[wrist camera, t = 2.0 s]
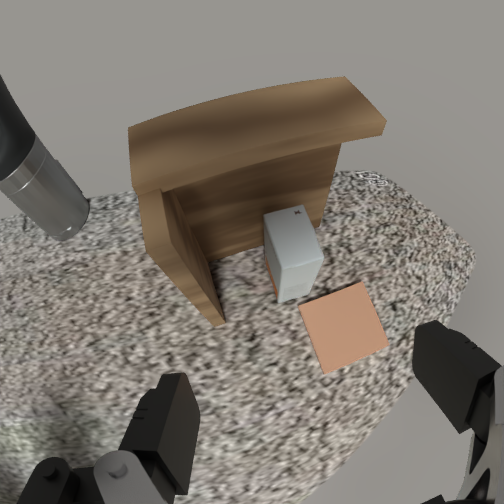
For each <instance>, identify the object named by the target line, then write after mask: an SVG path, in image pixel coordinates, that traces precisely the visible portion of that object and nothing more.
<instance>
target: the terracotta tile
mask: <svg viewBox="0 0 504 504" xmlns="http://www.w3.org/2000/svg"><path fill="white" fill-rule="evenodd" d="M298 309H299V311H300V314H301V316H302V319H303V321H304V324H305V327H306V329H307V332H308V334H309V337H310V340H311V342H312V345H313V347H314V350H315V353H316V355H317V358H318V361H319V363H320V366H321V369H322V371H323V374H327V373H329V372H332V371H334V370H336V369H339V368H341V367H343V366H346V365H348V364H350V363H352V362H355V361H357V360H359V359H361V358H363V357H366V356H368V355H370V354H372V353H374V352H376V351H378V350H380V349H382V348H384V347H386V346H388V345H389V342H388V340H387V337H386V335H385V332H384V330H383V328H382V325H381V323H380V320H379V318H378V316H377V313H376V311H375V309H374V306H373V304H372V302H371V299H370V297H369V295H368V293H367V290H366V288H365V286H364V284H363V282H360V283H357V284H355V285H352V286H350V287H347V288H344V289H342V290H339V291H337V292H334V293H332V294H329V295H326V296H324V297H321V298H318V299H316V300H313V301H310V302H308V303H305V304H302V305H299V306H298Z"/></svg>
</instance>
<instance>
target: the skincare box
mask: <svg viewBox="0 0 504 504" xmlns="http://www.w3.org/2000/svg"><path fill="white" fill-rule="evenodd" d="M263 221H264V245H265V263H266V266H267V269H268V272H269V275H270V278H271V281H272V284H273V287H274V291H275V294H276V298H277V301H278V303H280V302H284V301H287V300H290V299H294V298H298V297H301V296H305V295H308V294H309V292H310V290H311V288H312V285H313V283H314V281H315V279H316V276H317V274H318V271H319V269H320V267H321V265H322V262H323V260H324V255H323V252H322V249H321V247H320V244H319V242H318V239H317V236H316V233H315V230H314V228H313V226H312V224H311V222H310V219H309V217H308V214H307V212H306V210H305V207H304V205H298V206H294V207H291V208H287V209H283V210H279V211H275V212H271V213H268V214H264V215H263Z"/></svg>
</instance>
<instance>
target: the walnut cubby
mask: <svg viewBox="0 0 504 504" xmlns="http://www.w3.org/2000/svg"><path fill="white" fill-rule="evenodd" d="M386 122H387V120H386V119H385V118H384V117H383V116H382V115H381V113H380V112H379V111H378V110H377V109H376V108H375V107H374V106H373V105H372V104H371V103H370V101H368V99H367V98H366V97H365V96H364V95H363V94H362V93H361V92H360V91H359V90H358V89H357V88H356V87H355V86H354V85H353V84H352V83H351V82H350V81H349V80H348V79H347V78H346V77H335V78H325V79H317V80H309V81H302V82H295V83H290V84H283V85H277V86H272V87H267V88H262V89H257V90H252V91H247V92H243V93H238V94H234V95H230V96H226V97H222V98H218V99H214V100H210V101H207V102H204V103H200V104H196V105H193V106H189V107H186V108H183V109H180V110H176V111H173V112H170V113H167V114H164V115H161V116H158V117H156V118H153V119H150V120H147V121H144V122H142V123H139V124H136V125H134V126H131V127H129V128H128V138H129V155H130V168H131V179H132V187H133V189H134V190H135V192H136V194H137V195H138V201H139V208H140V216H141V223H142V230H143V236H144V242H145V249H146V252H147V253H148V254H149V255H150V257H151V258H152V259H153V260H154V261H155V262H156V264H157V265H158V266H159V267H160V268H161V269H162V271H163V272H164V273H165V274H166V275H167V276H168V277H169V278H170V280H171V281H172V282H173V283H174V284H175V285H176V286H177V287H178V289H179V290H180V291H181V292H182V293H183V294H184V295H185V296H186V297H187V298H188V299H189V301H190V302H191V303H192V304H193V305H194V306H195V307H196V308H197V309H198V310H199V311H200V312H201V313H202V314H203V315H204V317H205V318H206V319H207V320H208V321H209V322H210V323H211V324H212V325H213V326H214V327H215V326H218V325H221V324H225V323H226V322H225V319H224V316H223V312H222V309H221V306H220V303H219V299H218V296H217V293H216V290H215V286H214V283H213V280H212V276H211V273H210V269H209V266H208V262H211V261H214V260H217V259H221V258H224V257H227V256H230V255H233V254H236V253H239V252H242V251H245V250H248V249H251V248H255V247H258V246H261V245H264V221H263V215H264V214H268V213H271V212H275V211H279V210H283V209H287V208H291V207H294V206H298V205H304V207H305V210H306V212H307V214H308V217H309V219H310V222H311V224H312V226H313V228H317V227H319V226H320V222H321V219H322V215H323V212H324V208H325V205H326V201H327V197H328V194H329V190H330V186H331V182H332V179H333V175H334V171H335V167H336V163H337V159H338V155H339V151H340V147H341V143H343V142H348V141H353V140H358V139H363V138H369V137H374V136H380V135H382V133H383V130H384V127H385V124H386Z"/></svg>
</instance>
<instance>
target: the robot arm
mask: <svg viewBox="0 0 504 504" xmlns="http://www.w3.org/2000/svg"><path fill="white" fill-rule="evenodd" d="M0 190H1V191H2V192H3V193H4V194H5V195H6V196H7V197H8V198H9V199H10V200H11V201H12V202H13V203H14V204H15V205H16V206H17V207H18V208H19V209H20V210H22V211H23V212H24V213H25V214H26V215H27V216H28V217H29V218H30V219H31V220H32V221H34V222H35V223H36V224H37V225H38V226H39V227H40V228H41V229H43V230H44V231H45V232H46V233H47V234H48V235H50V236H51V237H52V238H53V239H55V240H58V241H63V240H67V239H69V238H71V237H72V236H74V235H75V234H76V233H77V232H78V231H79V230H80V229H81V227H82V226H83V225H84V223H85V221H86V219H87V216H88V212H89V205H88V201H87V200H86V198H85V197H84V196H83V195H82V191H81V190H80V188H79V187H78V186H77V185H76V184H75V182H74V181H73V180H72V178H71V177H70V176H69V175H68V173H67V172H66V171H65V169H64V168H63V167H62V166H61V164H60V163H59V162H58V160H55V159H54V158H53V157H52V155H51V154H50V153H49V151H48V150H47V149H46V147H45V146H44V145H43V143H42V142H41V141H40V139H39V138H38V136H37V135H36V134H35V132H34V131H33V129H32V128H31V127H30V125H29V124H28V122H27V120H26V119H25V117H24V116H23V114H22V112H21V111H20V109H19V108H18V106H17V105H16V103H15V101H14V100H13V98H12V96H11V95H10V92H9V91H8V89H7V87H6V85H5V83H4V81H3V79H2V77H1V75H0ZM412 367H413V371H414V374H415V376H416V378H417V379H418V380H419V382H420V383H421V384H422V385H423V387H424V388H425V389H426V391H427V392H428V393H429V394H430V396H431V397H432V398H433V400H434V401H435V402H436V404H437V405H438V406H439V407H440V409H441V410H442V411H443V413H444V414H445V415H446V417H447V418H448V419H449V421H450V422H451V423H452V425H453V426H454V427H455V429H456V430H457V431H458V433H459V434H460V433H462V432H464V431H466V430H468V429H469V428H472V430H473V431H474V432H473V434H472V437H471V443H470V450H469V456H468V462H467V467H466V473H465V477H464V482H463V485H462V487H461V489H460V491H459V494H458V496H457V498H456V500H453V501H447V502H445V501H444V499H443V497H442V495H439V496H437V497H435V498H432V499H430V500H428V501H426V502H424V503H422V504H504V366H501V365H500V364H499V363H498V362H496V361H495V360H494V359H493V358H492V357H491V356H489V355H488V354H487V353H486V352H485V351H483V350H482V349H481V348H479V347H477V345H476V344H474V342H471V341H470V339H468V338H467V337H466V336H465V335H463V334H462V333H460V332H457V331H455V330H452V329H447V328H446V327H445V326H444V325H443V324H441V323H440V322H439V321H437V320H433V321H431V322H428V323H425V324H422V325H419V326H417V327H416V329H415V337H414V349H413V359H412ZM132 418H133V419H131V421H130V423H129V426H128V428H127V430H126V433H125V435H124V437H123V439H122V442H121V444H120V446H119V449H118V451H112V452H109V453H107V454H105V455H104V456H102V457H101V458H100V459H99V460H98V461H97V462H96V464H95V466H94V467H88V468H77V469H72V468H71V467H70V466H69V465H68V463H67V462H66V461H65V460H63V459H61V458H58V457H51V458H47V459H45V460H43V461H41V462H40V463H39V464H38V465H37V466H36V467H35V469H34V471H33V472H32V474H31V476H30V478H29V480H28V482H27V484H26V486H25V488H24V490H23V492H22V494H21V496H20V498H19V500H18V502H17V504H173V503H174V498H175V495H188V489H189V483H190V477H191V471H192V465H193V459H194V453H195V448H196V442H197V436H198V431H199V425H200V411H199V407H198V404H197V401H196V399H195V396H194V393H193V391H192V388H191V385H190V383H189V380H188V377H187V375H186V374H185V373H171V374H163V375H162V376H161V378H160V380H159V383H158V385H157V388H156V389H150V390H149V391H148V392H147V393H146V394H145V395H144V396H143V397H142V398H141V399H140V401H139V403H138V406H137V408H136V411H135V412H134V414H133V417H132Z"/></svg>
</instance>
